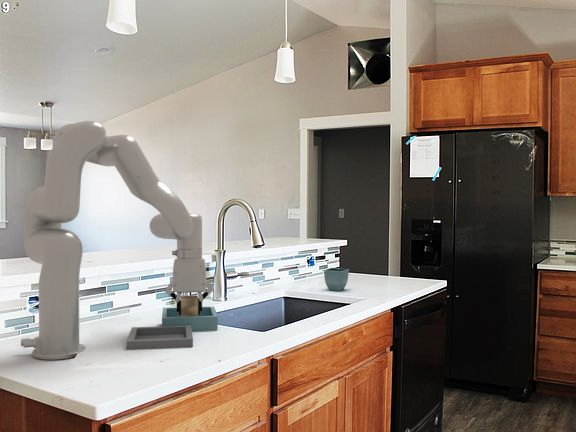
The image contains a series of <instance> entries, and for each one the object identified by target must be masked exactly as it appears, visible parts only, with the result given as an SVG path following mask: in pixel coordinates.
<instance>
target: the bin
mask: <svg viewBox="0 0 576 432" xmlns="http://www.w3.org/2000/svg"><path fill="white" fill-rule="evenodd" d="M193 347H194V336H193V331H192V328H191V325H187V326H162V325H161V326H131V329H130V332H129V335H128V338H127V341H126V350H127V351H128V350H145V349H147V350H149V349H150V350H151V349H173V348H176V349H178V348H193Z"/></svg>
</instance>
